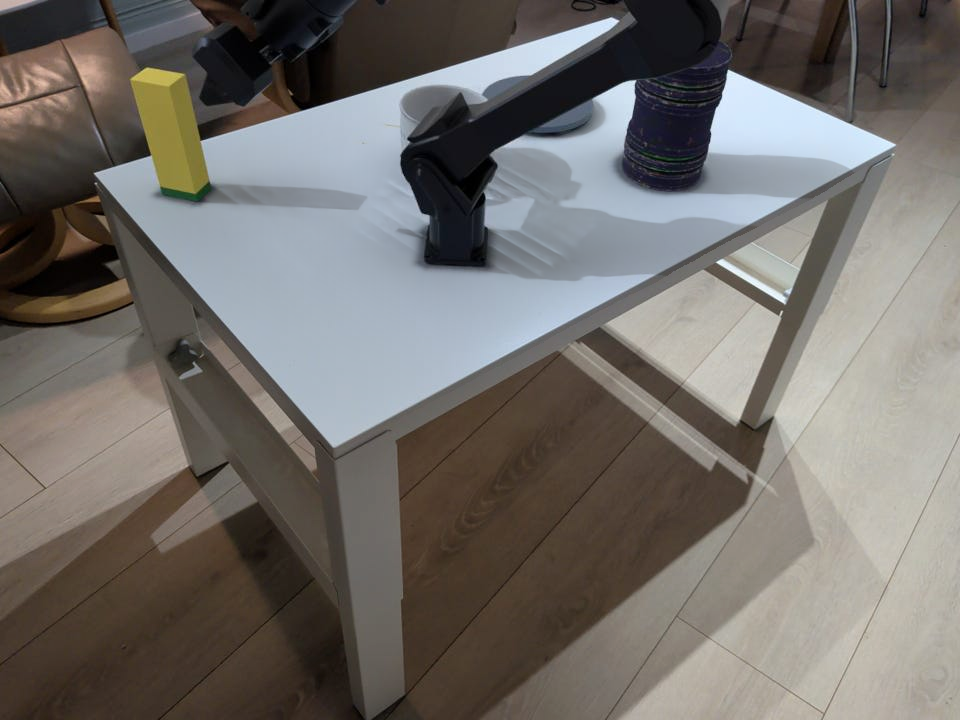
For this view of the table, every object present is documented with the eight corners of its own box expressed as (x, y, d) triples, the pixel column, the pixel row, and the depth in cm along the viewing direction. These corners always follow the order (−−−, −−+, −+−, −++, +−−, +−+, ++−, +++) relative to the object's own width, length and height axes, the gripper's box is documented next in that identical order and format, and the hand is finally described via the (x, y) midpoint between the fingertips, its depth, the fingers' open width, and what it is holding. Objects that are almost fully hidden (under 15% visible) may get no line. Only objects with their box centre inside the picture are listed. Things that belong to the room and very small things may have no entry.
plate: (595, 140, 102) (597, 130, 101) (478, 134, 102) (479, 124, 101) (588, 87, 113) (589, 77, 112) (482, 82, 113) (483, 72, 112)
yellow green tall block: (176, 181, 92) (146, 67, 82) (211, 188, 91) (185, 73, 82) (162, 194, 90) (129, 79, 80) (197, 202, 89) (169, 86, 80)
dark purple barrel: (649, 198, 93) (675, 74, 82) (604, 158, 99) (624, 37, 89) (718, 181, 96) (752, 59, 86) (671, 143, 102) (697, 25, 92)
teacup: (438, 134, 102) (437, 74, 96) (508, 162, 97) (512, 100, 92) (365, 180, 93) (360, 117, 88) (439, 213, 89) (438, 148, 83)
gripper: (304, -121, 74) (219, -18, 84) (189, -63, 61) (105, 51, 71) (385, -18, 78) (295, 69, 88) (293, 57, 65) (199, 150, 75)
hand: (228, 82), depth 80 cm, fingers open, 9 cm apart
